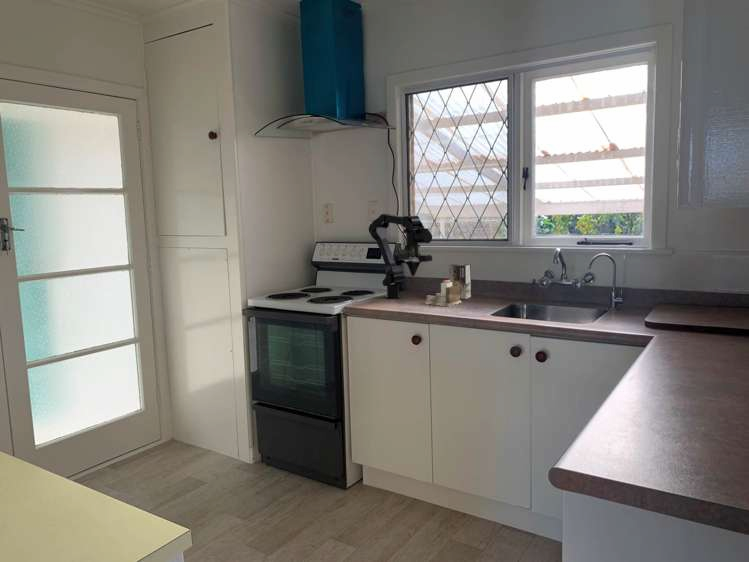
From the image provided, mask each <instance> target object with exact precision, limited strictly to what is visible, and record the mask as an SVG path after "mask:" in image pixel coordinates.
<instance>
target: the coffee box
mask: <svg viewBox="0 0 749 562" xmlns="http://www.w3.org/2000/svg"><path fill="white" fill-rule="evenodd" d="M471 267H472V266H471V264H466V263H465V264H463V263H453V264H450V265H448V280H450V282H452V286H460V299H462V300H463V299H464V300H467V299H469V298H471V297H472V289H471V287H472V285H471V284H472V283H471V282H472V281H471V280H472V278H471V273H472V271H471Z"/></svg>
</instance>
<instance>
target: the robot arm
mask: <svg viewBox="0 0 749 562" xmlns="http://www.w3.org/2000/svg"><path fill="white" fill-rule="evenodd" d="M390 224H393V225H394V224H395V225H400V226H402V227H403V228H405V229H404V230H403V231H402V233H403V234H405V236H406V237H405V242H406V243H405V245H404V248H403V249H402V250H400V251H399V252H398V253H395V254H394V256H393V252H392V250H391V247H390V244H389V242H388V239H387V235H388V231H387V229H388V228H389V226H390ZM368 232H369V234H370V236H371V238H372V239H374V241H376V243H377V246H378V249H379V252H380V254H381V256H382V259H383V262H384V265H385V272H384V274H385V277H384V279H382V286H383V287H386V295H384V298H386V299H390V300H393V299H401V298H402V296H401V295H399V286H402V285H403V282H404V279H405V274H404V273H405V272H404V270H403V267H402V265H398V264H397V263H396V261H400V260H404V261H403V263H404V264H406V265H407V267H408V269H409V272H410V275H411V277H415V275H416V272H417V271H418V268H419V267H420V264H421V263H423V262H424V263H426V262H433V255H431V254H421V253H419V252H420V249H419V248H421V244H429V243H431V242H432V241H433V235H432V232H431V231H430V228H429V227H428V228H425V226H424V225H423V222H422V220H421V219H420V217H419V215H406V216H403V215H397V214H391V213H381V214H380V215H379V216H378V217H377V218H376V219H374V220H372V222H371V224H369V227H368Z"/></svg>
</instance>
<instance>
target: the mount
mask: <svg viewBox="0 0 749 562" xmlns="http://www.w3.org/2000/svg"><path fill="white" fill-rule="evenodd" d="M440 296H441V292H440V293H438V292H436V293H435V295H429V294H428V295H426V301H425V300H424V304H425V305H429V304H431V305H430V306H438V305H440V306H439V307H446V306H449V307H452V306H456V305H459V303H460V304H461V303H462V300H460V286H451V287H447V288H446V297H440ZM455 304H456V305H455Z"/></svg>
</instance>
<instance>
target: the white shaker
mask: <svg viewBox="0 0 749 562" xmlns="http://www.w3.org/2000/svg"><path fill="white" fill-rule="evenodd" d="M451 286H452V282H450V280H449V279H446V280H442V282H441V283H440V294H441V296H440V297H446V288H447V287H451Z"/></svg>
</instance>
